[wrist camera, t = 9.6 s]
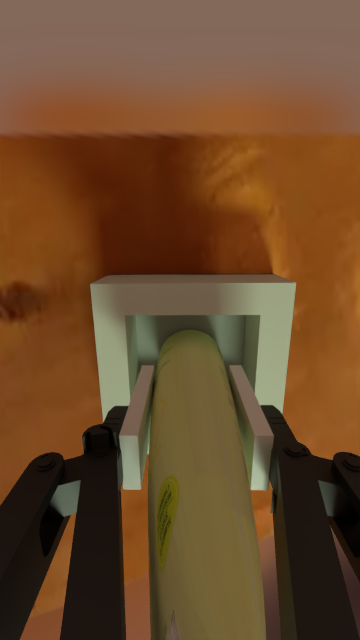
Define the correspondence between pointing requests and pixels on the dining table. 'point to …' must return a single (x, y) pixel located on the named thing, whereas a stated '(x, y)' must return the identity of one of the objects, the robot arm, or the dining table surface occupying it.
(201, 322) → the socket block
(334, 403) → the dining table surface
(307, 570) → the robot arm
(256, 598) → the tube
